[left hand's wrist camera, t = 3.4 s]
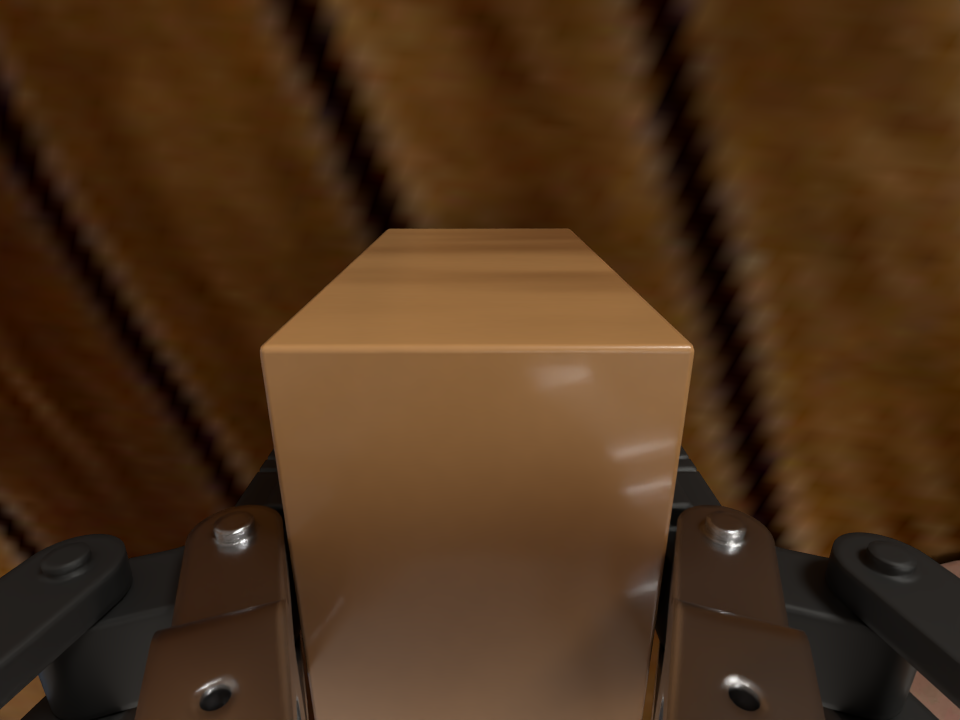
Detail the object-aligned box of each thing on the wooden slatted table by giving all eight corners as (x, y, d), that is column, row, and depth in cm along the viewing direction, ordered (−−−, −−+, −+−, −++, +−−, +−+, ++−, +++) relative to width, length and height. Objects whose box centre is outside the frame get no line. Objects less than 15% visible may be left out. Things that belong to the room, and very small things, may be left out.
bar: (386, 228, 15) (255, 345, 6) (570, 227, 15) (699, 345, 6) (421, 808, 24) (385, 1204, 15) (539, 807, 24) (574, 1204, 15)
